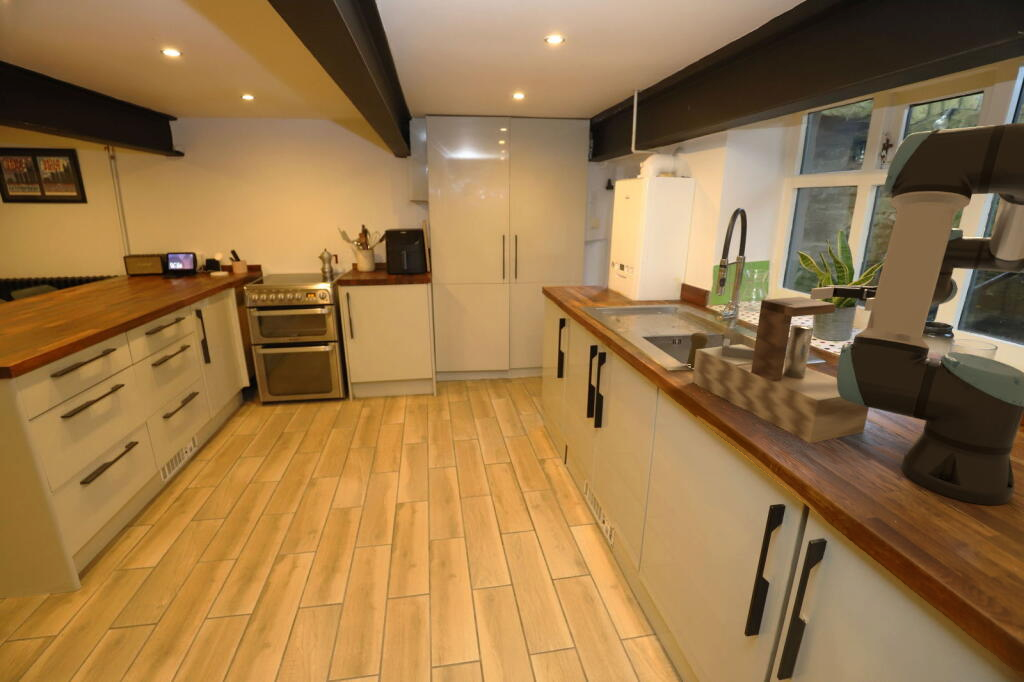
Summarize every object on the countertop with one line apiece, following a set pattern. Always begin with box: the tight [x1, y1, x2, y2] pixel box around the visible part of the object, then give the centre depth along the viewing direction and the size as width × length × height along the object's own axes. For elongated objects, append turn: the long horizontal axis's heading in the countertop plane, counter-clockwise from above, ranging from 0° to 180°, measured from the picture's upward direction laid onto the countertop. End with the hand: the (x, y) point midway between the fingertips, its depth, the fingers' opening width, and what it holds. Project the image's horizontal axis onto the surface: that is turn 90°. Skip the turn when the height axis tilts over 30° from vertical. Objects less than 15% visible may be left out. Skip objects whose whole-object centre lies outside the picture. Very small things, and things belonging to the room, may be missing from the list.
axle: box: [783, 324, 814, 379], centre depth 111 cm, size 4×4×12 cm
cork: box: [686, 332, 709, 368], centre depth 147 cm, size 6×6×11 cm
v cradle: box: [698, 338, 755, 366], centre depth 127 cm, size 14×14×3 cm
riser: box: [692, 343, 870, 444], centre depth 120 cm, size 38×16×10 cm, turn 18°
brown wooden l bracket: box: [751, 296, 837, 382], centre depth 110 cm, size 9×12×18 cm
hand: (838, 299), depth 111 cm, fingers open, 13 cm apart
